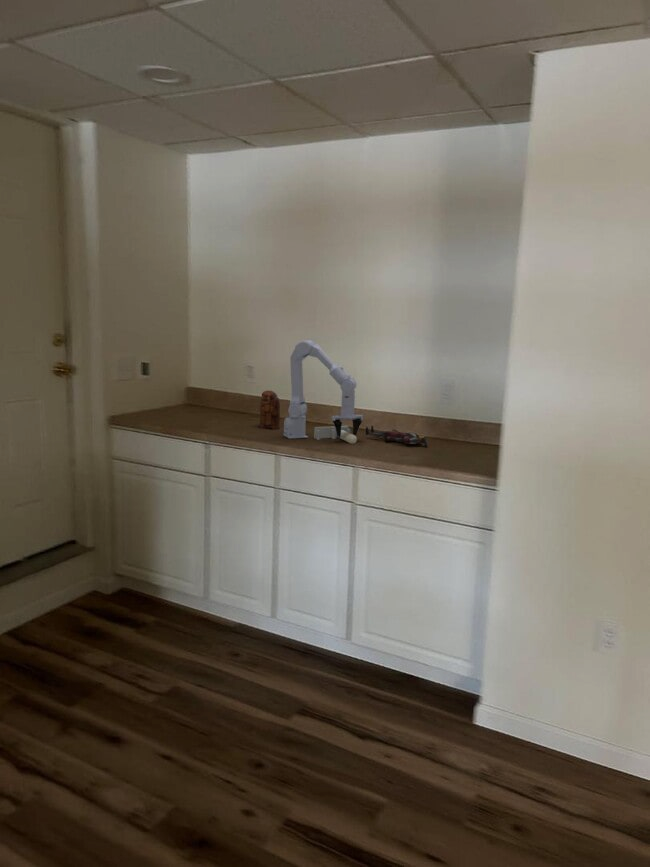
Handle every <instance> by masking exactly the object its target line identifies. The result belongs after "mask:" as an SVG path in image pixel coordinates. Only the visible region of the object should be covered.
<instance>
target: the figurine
mask: <svg viewBox="0 0 650 867" xmlns="http://www.w3.org/2000/svg"><path fill="white" fill-rule="evenodd" d="M369 430H370V431H369ZM367 435H369V436H374V437H376V438H381V437H382V439H383V440H384V442H393V441H395V442H399V443H404V444H405V445H417V444H419V443H421V444H424V445H423V446H424V448H428V443H427V438H426V436H424V435H419V434H417V433H414V432H403V431H399V430H396V429H395V428H394V429H391V430H390V429H388V430H386V431H380V430H379V431H376V430H375V429H374V426H373V425H371V427H370V429H369V427H368V426H366V427H365V436H367Z"/></svg>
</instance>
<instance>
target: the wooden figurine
mask: <svg viewBox="0 0 650 867" xmlns="http://www.w3.org/2000/svg"><path fill="white" fill-rule="evenodd" d="M280 403H281V402H280V399H279V397H278V395H277V393H276V392H275V391H273V390H269V389H268V390H264V391H262V392H261V399H260V409H259V410H260V411H259V427H260V428H262V429H271V430H277V429H280V422H281V421H280V419H281V415H280V411H281V410H280V408H281V404H280Z"/></svg>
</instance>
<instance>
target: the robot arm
mask: <svg viewBox="0 0 650 867" xmlns="http://www.w3.org/2000/svg"><path fill="white" fill-rule="evenodd" d="M294 347H295V348H294V349H293V351H292V353H291V355H290V356H289V357H290V359H289V360H290V382H291V384H290V385H291V398H290V399H289V407H288V409H287V412H288V414H289V417H286V418H284V422H283V434H282V435H283V436H284V437H286V438H288V439H303V438H306V439H307V438H309V436H308V435H306V420H307V419H306V418H307V417H306V414H307V412H308V406H307V404H306V403H307V402H306V399H305V396H304V380H303V379H304V376H303V374H304V373H303V361H304V360H305V359H306V358H307V357H308V356H309V357H312V358H317V359H318V360H319V361H320V363H322V364H323V365H324V367H326V368H327V369H328V370H329V375H330V377H331V378H332V379H334V380H335V382H336V383H337V384H338V385H340V390H341V407H340V408H341V410H340V414H337V415H331V421H332V423H333V424H334V426H335V428H336V431H337V436H339V437H340V436H341V426H343V422H342V421H346V420H347V421H351V420H352V434H353V435H355V436H356V437H357V433H358V431H359V428H360V426H361V424H363V421H362V420H364V415H363V414H355V401H356V400H355V398H356V396H355V393H356V392H355V390H356V388H357V381H356V380H355V378H353V377H351V375H349V374H347V372H346V371H345V370H344V367H343V366H340V365H339V364H338V365H337V364H335V363H334V362H333V361H332V359H331V358H330V356H328V354H326V353H325V352H324V350H323V349H322V348H321V346H320V345H319V344H317V343H316V342H315V341H314V340H313V339H307V340H301V341H299V342H298V343H297V344H295V346H294ZM339 437H338V438H339Z"/></svg>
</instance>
